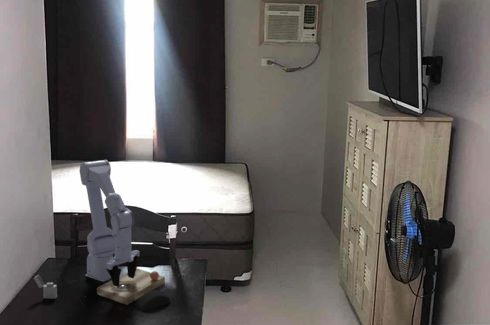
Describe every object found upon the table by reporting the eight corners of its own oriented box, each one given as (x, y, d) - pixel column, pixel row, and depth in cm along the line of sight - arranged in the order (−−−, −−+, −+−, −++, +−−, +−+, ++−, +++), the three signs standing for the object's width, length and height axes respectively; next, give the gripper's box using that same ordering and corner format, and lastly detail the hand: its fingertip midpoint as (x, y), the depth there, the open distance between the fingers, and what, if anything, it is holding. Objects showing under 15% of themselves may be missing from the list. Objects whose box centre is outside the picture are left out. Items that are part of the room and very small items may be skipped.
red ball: (148, 280, 190) (148, 272, 189) (153, 277, 193) (153, 269, 192) (155, 282, 189) (155, 274, 188) (160, 279, 191) (160, 271, 191)
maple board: (97, 294, 184) (96, 287, 183) (135, 274, 201) (135, 268, 200) (127, 304, 177) (127, 298, 176) (164, 283, 194) (164, 276, 193)
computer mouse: (172, 302, 180) (172, 292, 179) (143, 313, 173) (143, 301, 172) (162, 296, 184) (162, 285, 184) (133, 305, 177) (133, 294, 176)
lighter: (57, 296, 182) (56, 274, 180) (55, 298, 180) (54, 276, 178) (36, 295, 182) (35, 274, 180) (34, 298, 180) (33, 276, 178)
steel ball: (118, 294, 185) (115, 289, 183) (123, 287, 187) (120, 282, 185) (125, 297, 184) (121, 291, 182) (130, 290, 186) (127, 284, 184)
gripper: (116, 254, 173) (117, 292, 176) (145, 241, 186) (146, 276, 189) (101, 249, 177) (102, 286, 180) (130, 237, 189) (131, 272, 192)
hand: (123, 281), depth 185 cm, fingers open, 7 cm apart
